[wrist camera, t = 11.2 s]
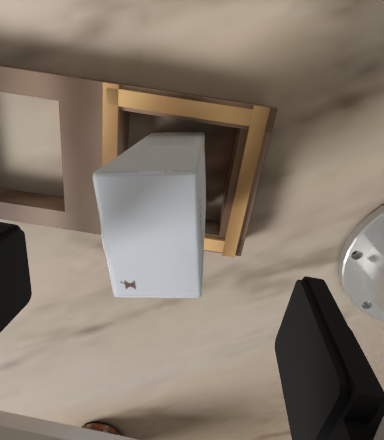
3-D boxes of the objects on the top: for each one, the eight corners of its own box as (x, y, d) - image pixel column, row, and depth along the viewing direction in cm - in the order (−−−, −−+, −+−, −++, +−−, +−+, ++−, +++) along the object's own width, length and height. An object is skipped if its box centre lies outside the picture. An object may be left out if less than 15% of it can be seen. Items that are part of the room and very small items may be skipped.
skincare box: (207, 204, 24) (202, 303, 13) (156, 204, 24) (110, 301, 13) (206, 128, 21) (199, 171, 10) (149, 129, 22) (85, 172, 11)
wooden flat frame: (270, 106, 20) (278, 109, 18) (238, 240, 25) (241, 258, 22) (-65, 55, 20) (-104, 50, 18) (-35, 198, 25) (-62, 211, 23)
